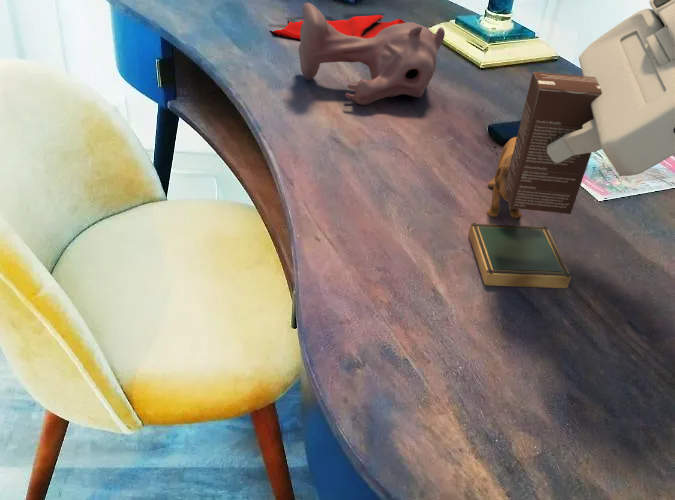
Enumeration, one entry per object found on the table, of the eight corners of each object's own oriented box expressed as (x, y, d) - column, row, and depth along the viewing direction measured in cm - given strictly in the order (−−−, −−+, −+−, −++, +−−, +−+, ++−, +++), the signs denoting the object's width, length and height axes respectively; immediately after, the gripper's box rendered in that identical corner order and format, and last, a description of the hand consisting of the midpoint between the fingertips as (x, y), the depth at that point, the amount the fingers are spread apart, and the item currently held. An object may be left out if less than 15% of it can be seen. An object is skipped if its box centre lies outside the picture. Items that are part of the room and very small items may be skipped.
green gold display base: (543, 237, 71) (547, 225, 70) (567, 288, 64) (571, 276, 63) (468, 234, 70) (471, 222, 69) (484, 285, 64) (487, 273, 63)
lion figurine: (537, 240, 70) (560, 168, 65) (488, 234, 71) (507, 162, 65) (520, 170, 82) (539, 105, 76) (478, 166, 82) (494, 100, 77)
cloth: (273, 47, 108) (273, 34, 107) (266, 19, 119) (266, 6, 117) (422, 48, 113) (424, 35, 112) (402, 21, 124) (404, 9, 122)
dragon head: (314, 78, 84) (461, 65, 87) (299, -8, 87) (440, -18, 90) (307, 128, 97) (434, 115, 100) (294, 50, 100) (417, 40, 103)
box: (562, 190, 64) (601, 75, 57) (570, 216, 60) (613, 97, 53) (501, 184, 64) (532, 68, 57) (506, 209, 61) (540, 89, 53)
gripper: (763, 136, 44) (575, 227, 51) (694, 37, 60) (558, 116, 67) (724, 64, 42) (533, 169, 49) (663, -19, 58) (526, 69, 65)
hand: (547, 138), depth 58 cm, fingers closed on box, 4 cm apart
